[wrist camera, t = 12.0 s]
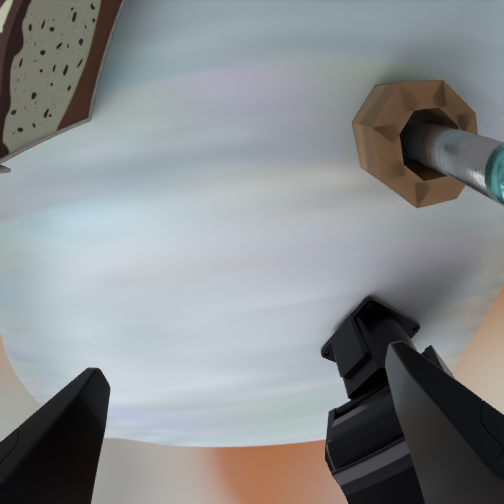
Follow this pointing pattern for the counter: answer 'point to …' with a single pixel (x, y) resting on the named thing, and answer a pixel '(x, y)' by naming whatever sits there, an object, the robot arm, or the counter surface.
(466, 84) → the counter surface
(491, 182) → the teal-capped metal tube
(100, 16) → the food container
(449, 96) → the brown octagonal ring
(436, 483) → the robot arm
